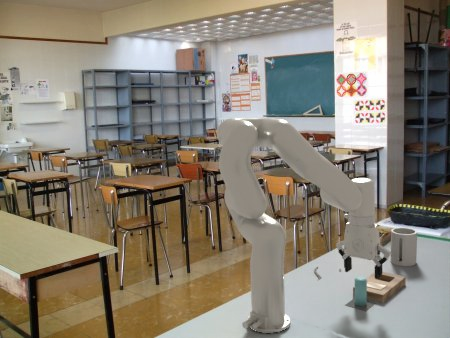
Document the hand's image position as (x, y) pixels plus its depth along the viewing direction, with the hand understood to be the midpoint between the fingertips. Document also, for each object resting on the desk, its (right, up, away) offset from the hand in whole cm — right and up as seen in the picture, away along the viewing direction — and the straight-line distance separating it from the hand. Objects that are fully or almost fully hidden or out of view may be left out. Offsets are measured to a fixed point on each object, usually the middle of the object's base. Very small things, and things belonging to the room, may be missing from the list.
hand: (362, 273), depth 153 cm
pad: (0, -10, +1) cm, 10 cm away
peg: (0, -10, +1) cm, 10 cm away
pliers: (-6, -7, +24) cm, 26 cm away
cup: (+25, -3, +37) cm, 45 cm away
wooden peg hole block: (+9, -8, +12) cm, 17 cm away
